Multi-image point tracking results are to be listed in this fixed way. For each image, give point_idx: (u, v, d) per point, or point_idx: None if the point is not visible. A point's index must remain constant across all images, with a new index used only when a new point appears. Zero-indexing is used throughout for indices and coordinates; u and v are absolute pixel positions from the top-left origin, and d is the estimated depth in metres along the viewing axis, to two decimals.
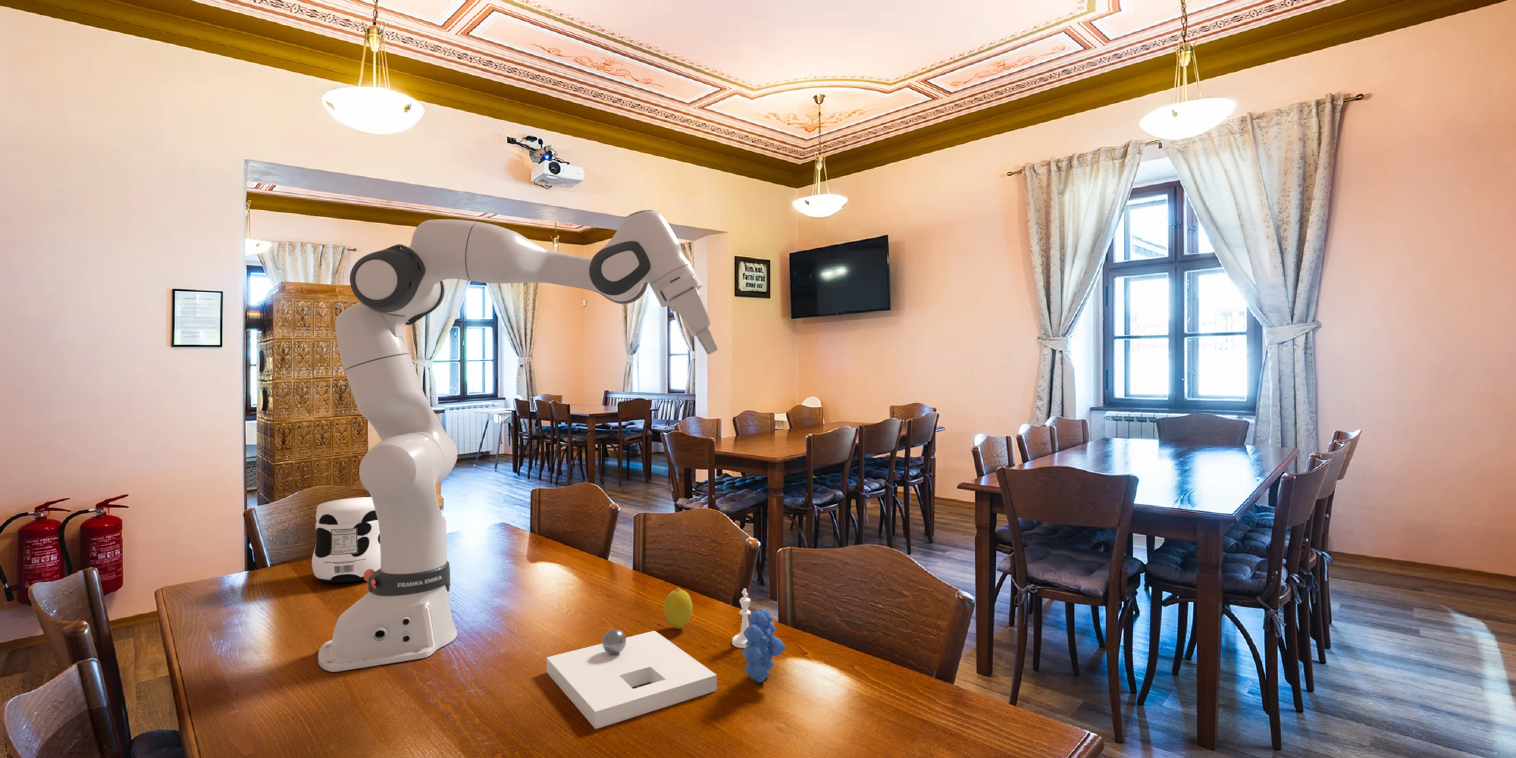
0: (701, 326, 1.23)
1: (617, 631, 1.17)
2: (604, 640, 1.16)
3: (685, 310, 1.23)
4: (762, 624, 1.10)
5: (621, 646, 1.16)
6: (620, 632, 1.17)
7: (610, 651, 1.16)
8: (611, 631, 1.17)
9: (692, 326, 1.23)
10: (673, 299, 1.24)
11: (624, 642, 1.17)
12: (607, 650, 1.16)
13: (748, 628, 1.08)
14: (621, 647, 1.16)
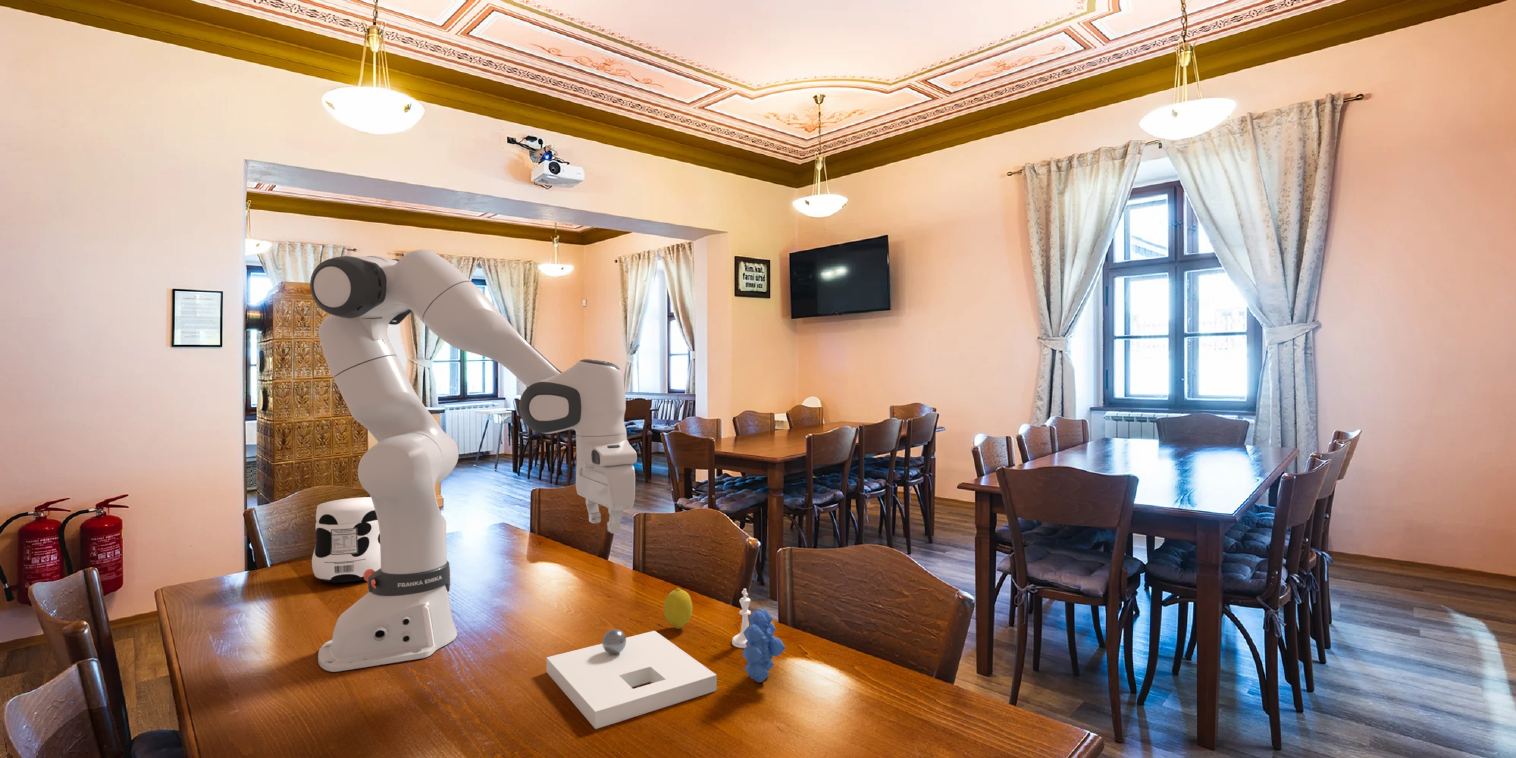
0: (624, 507, 1.15)
1: (617, 631, 1.17)
2: (604, 640, 1.16)
3: (616, 485, 1.15)
4: (762, 624, 1.10)
5: (621, 646, 1.16)
6: (620, 632, 1.17)
7: (610, 651, 1.16)
8: (611, 631, 1.17)
9: (616, 504, 1.14)
10: (608, 468, 1.15)
11: (624, 642, 1.17)
12: (607, 650, 1.16)
13: (748, 628, 1.08)
14: (621, 647, 1.16)
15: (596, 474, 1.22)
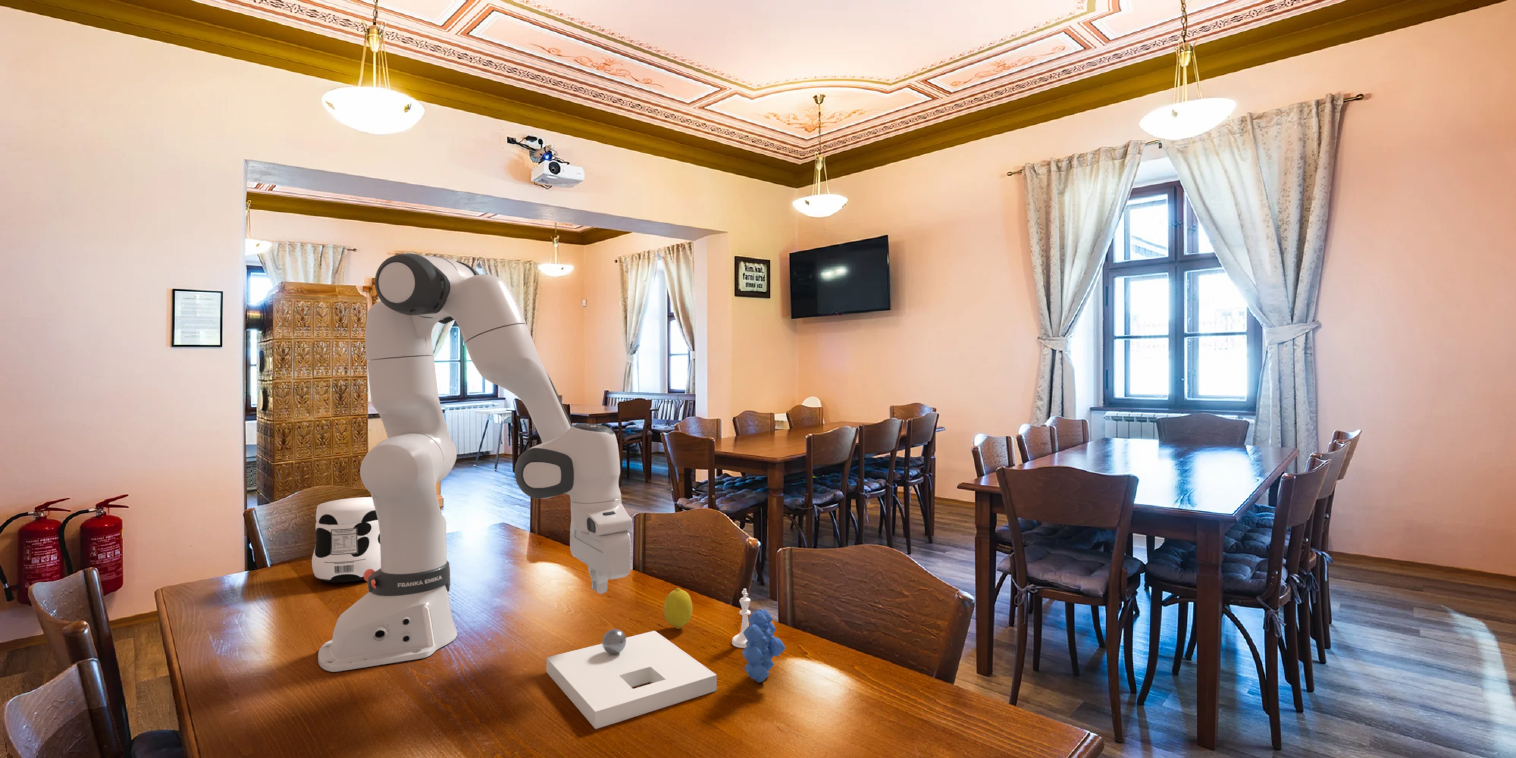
0: (620, 576, 1.16)
1: (617, 631, 1.17)
2: (604, 640, 1.16)
3: (612, 555, 1.15)
4: (762, 624, 1.10)
5: (621, 646, 1.16)
6: (620, 632, 1.17)
7: (610, 651, 1.16)
8: (611, 631, 1.17)
9: (612, 573, 1.15)
10: (604, 537, 1.15)
11: (624, 642, 1.17)
12: (607, 650, 1.16)
13: (748, 628, 1.08)
14: (621, 647, 1.16)
15: (591, 539, 1.22)
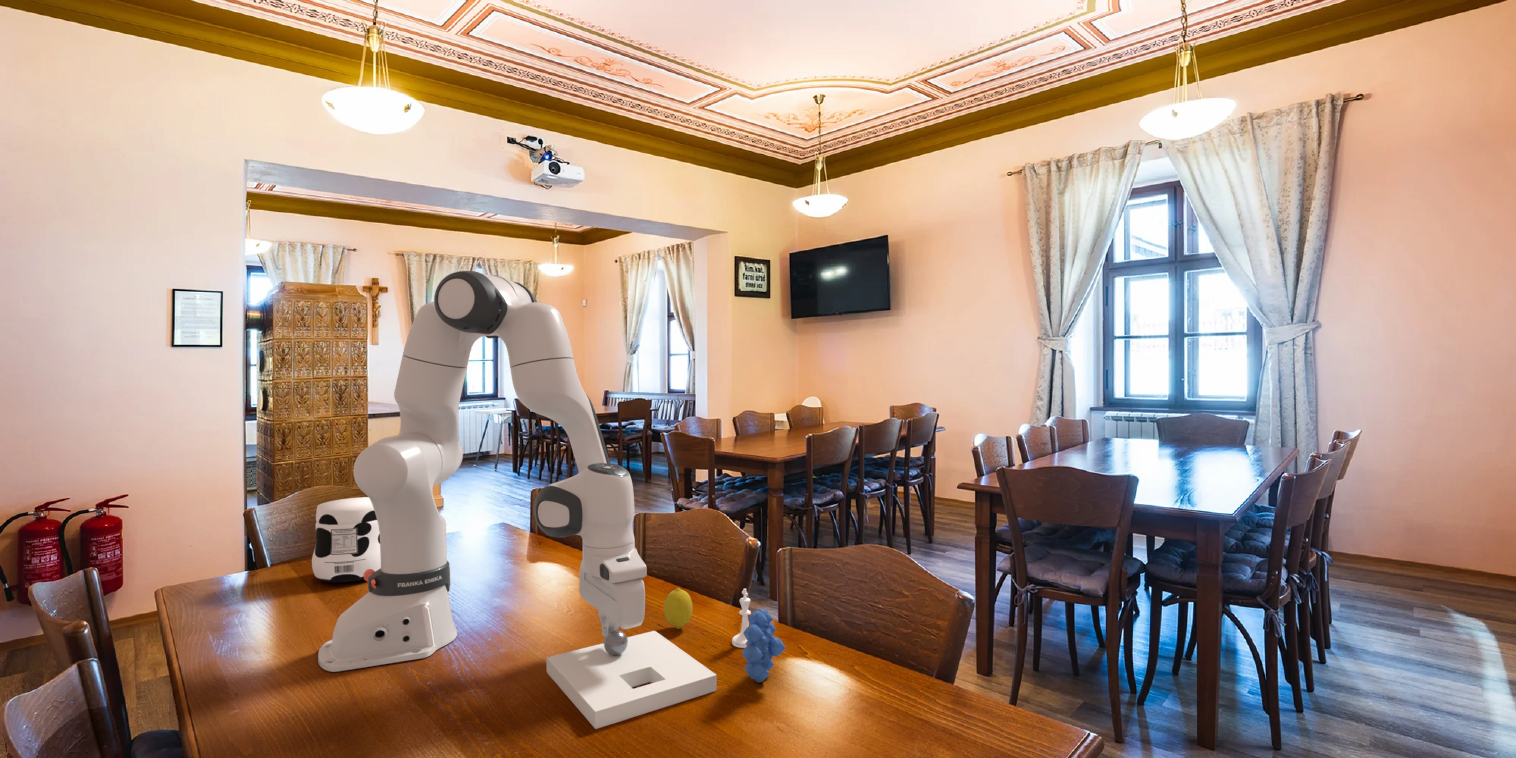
0: (633, 626, 1.12)
1: (620, 635, 1.16)
2: (606, 642, 1.16)
3: (626, 604, 1.11)
4: (762, 624, 1.10)
5: (622, 650, 1.16)
6: (623, 636, 1.16)
7: (611, 653, 1.16)
8: (614, 634, 1.16)
9: (625, 623, 1.11)
10: (617, 585, 1.11)
11: (626, 646, 1.16)
12: (608, 652, 1.16)
13: (748, 628, 1.08)
14: (622, 651, 1.16)
15: (603, 584, 1.18)
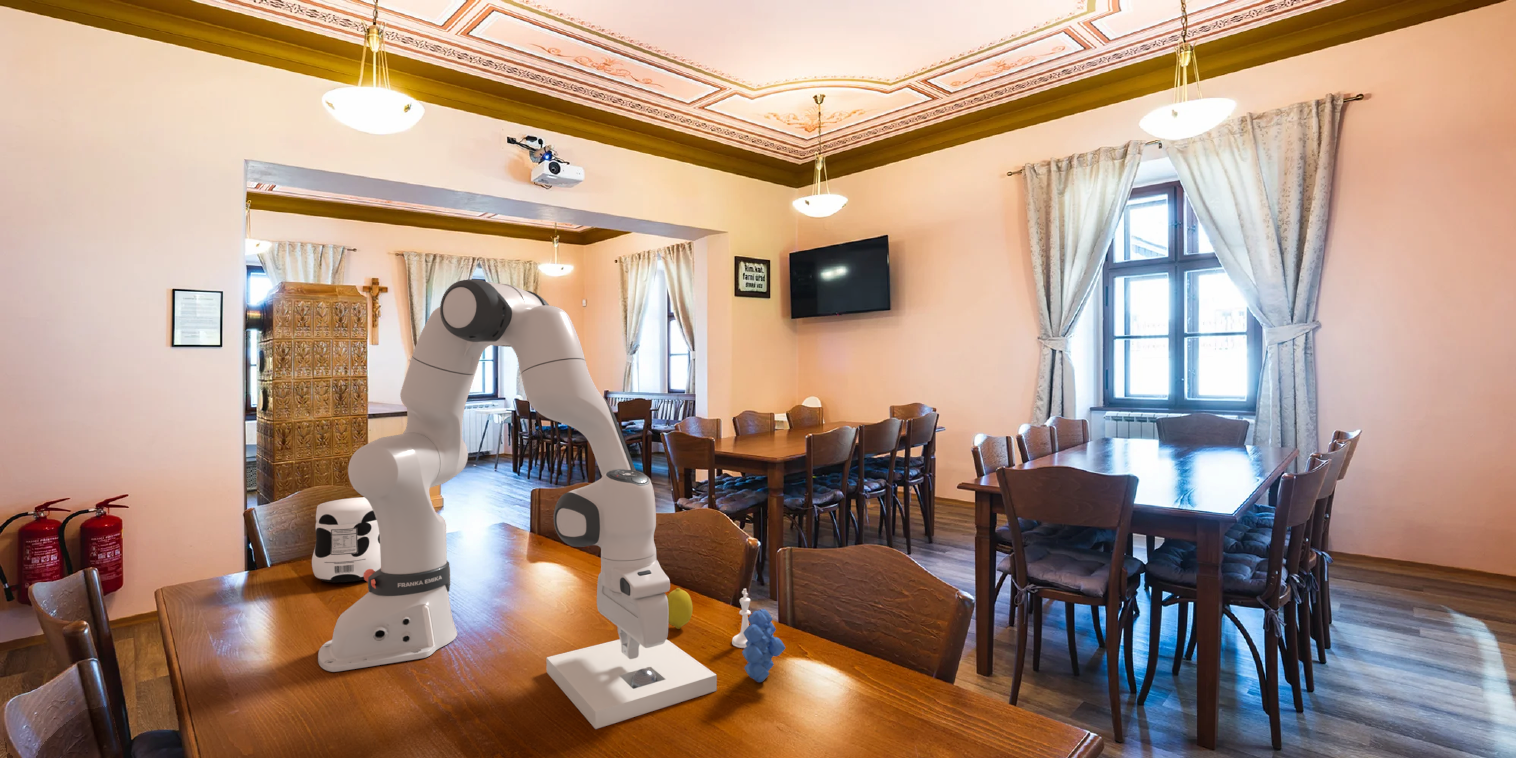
0: (656, 644, 1.04)
1: (648, 672, 1.07)
2: (633, 681, 1.07)
3: (648, 621, 1.04)
4: (762, 624, 1.10)
5: None
6: (651, 673, 1.08)
7: None
8: (642, 671, 1.07)
9: (648, 642, 1.03)
10: (639, 600, 1.04)
11: None
12: None
13: (748, 628, 1.08)
14: None
15: (623, 599, 1.10)
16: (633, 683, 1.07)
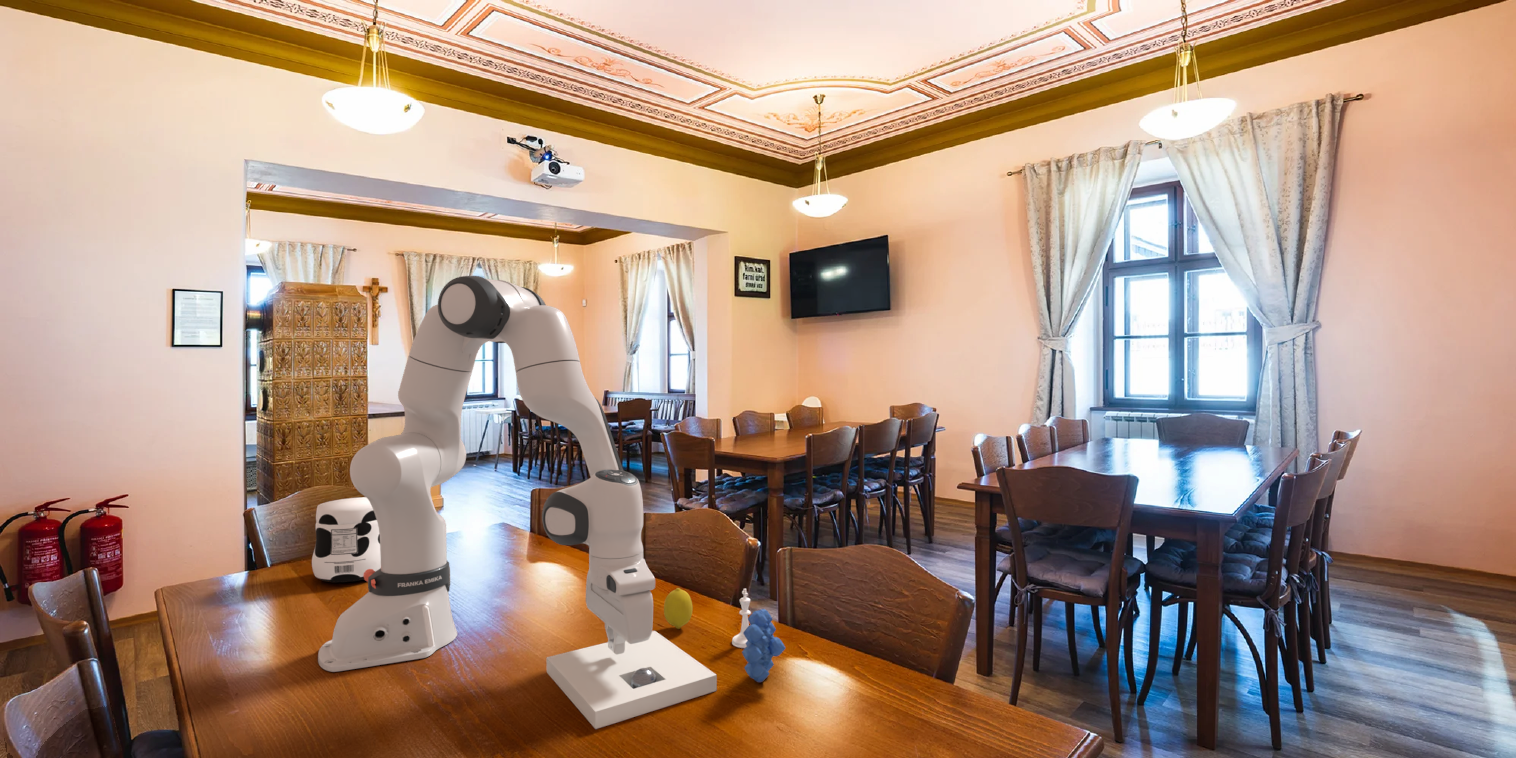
0: (640, 640, 1.07)
1: (647, 671, 1.08)
2: (633, 680, 1.07)
3: (633, 617, 1.06)
4: (762, 624, 1.10)
5: None
6: (650, 672, 1.08)
7: None
8: (641, 670, 1.08)
9: (632, 638, 1.06)
10: (624, 597, 1.07)
11: None
12: None
13: (748, 628, 1.08)
14: None
15: (610, 596, 1.13)
16: (632, 682, 1.07)
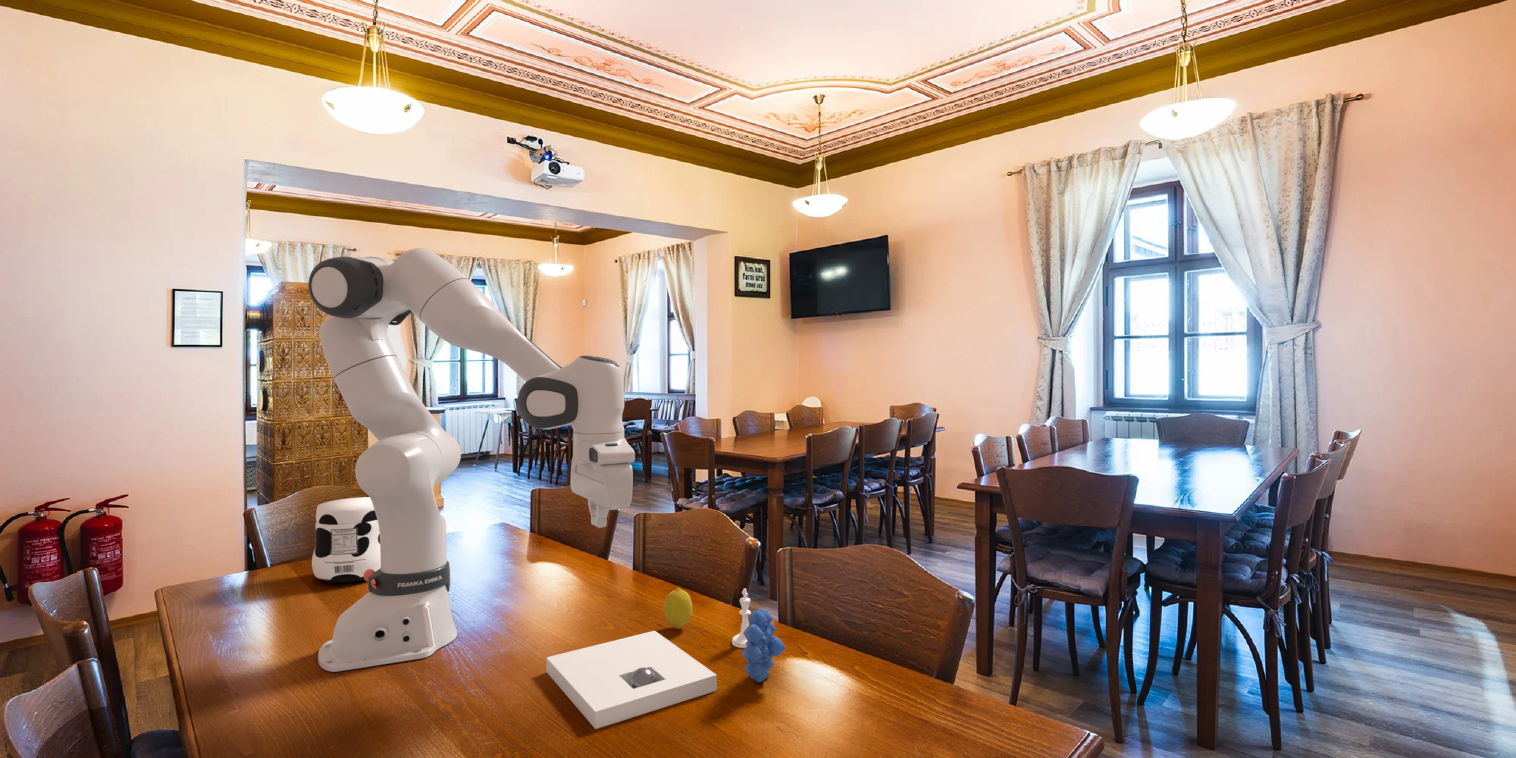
0: (620, 507, 1.14)
1: (646, 670, 1.08)
2: (632, 679, 1.07)
3: (613, 484, 1.13)
4: (762, 624, 1.10)
5: None
6: (649, 671, 1.08)
7: None
8: (639, 669, 1.08)
9: (613, 503, 1.13)
10: (605, 466, 1.14)
11: (653, 682, 1.08)
12: None
13: (748, 628, 1.08)
14: None
15: (592, 472, 1.20)
16: (632, 682, 1.07)
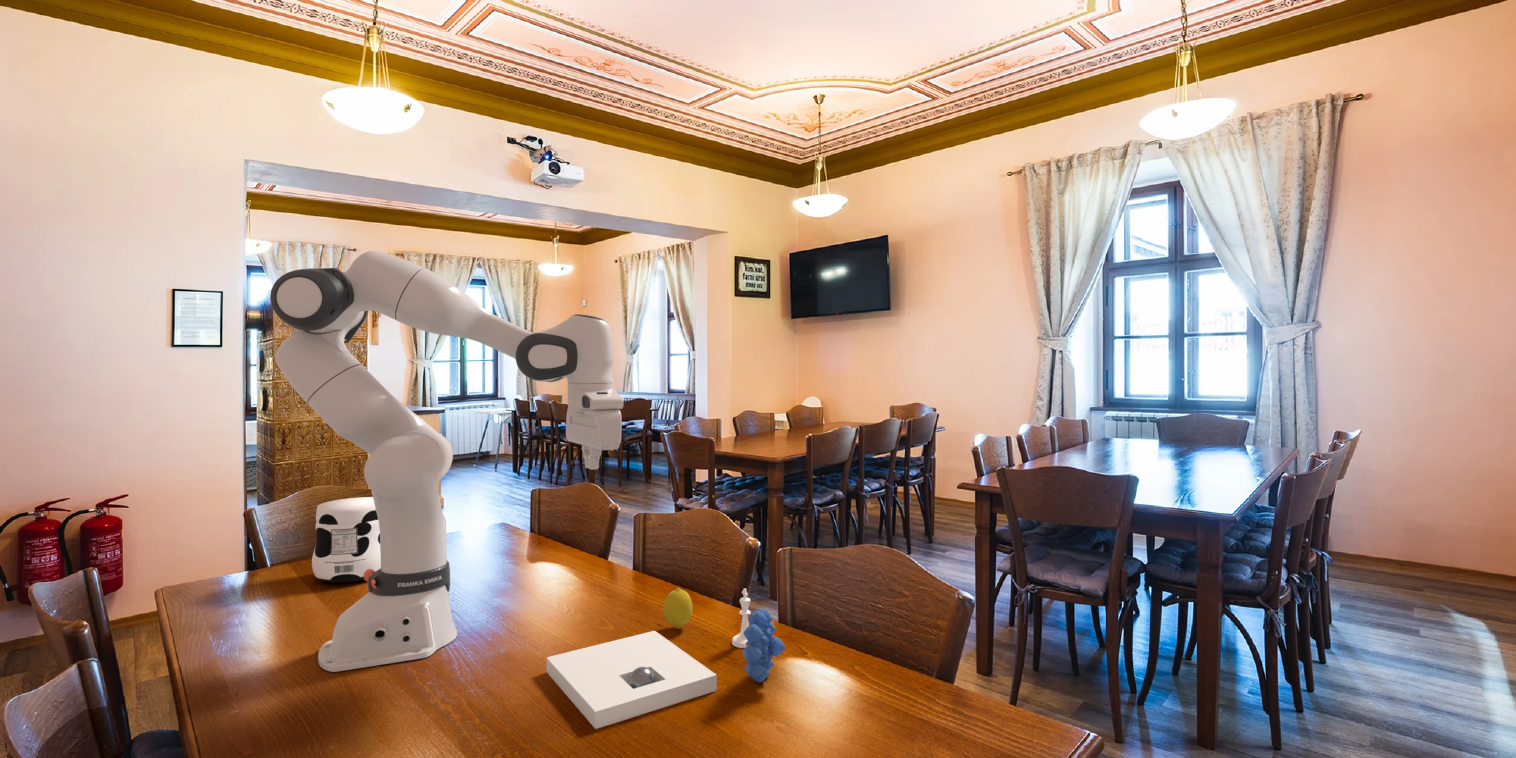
0: (611, 447, 1.27)
1: (644, 668, 1.08)
2: (631, 678, 1.07)
3: (604, 427, 1.27)
4: (762, 624, 1.10)
5: None
6: (647, 669, 1.09)
7: None
8: (638, 668, 1.08)
9: (604, 444, 1.26)
10: (597, 411, 1.27)
11: (652, 679, 1.08)
12: None
13: (748, 628, 1.08)
14: None
15: (585, 419, 1.33)
16: (630, 681, 1.07)
